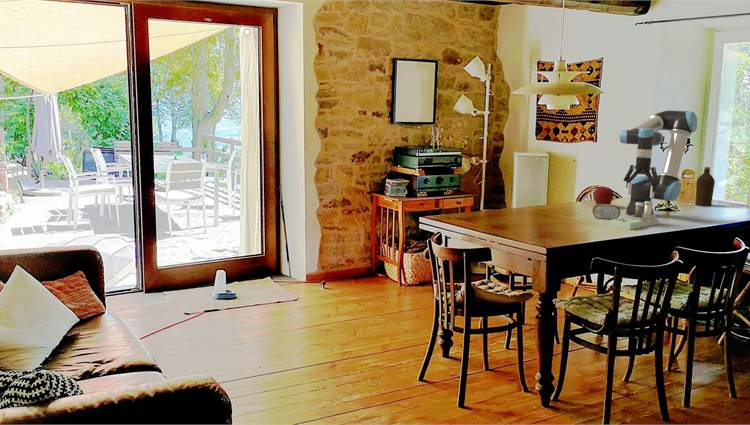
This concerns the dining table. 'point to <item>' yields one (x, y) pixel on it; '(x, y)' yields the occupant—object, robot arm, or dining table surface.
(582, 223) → the dining table surface
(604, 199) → the apple
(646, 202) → the fuse
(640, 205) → the fuse
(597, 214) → the tin
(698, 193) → the olive oil
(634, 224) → the parts tray
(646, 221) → the fuse holder
